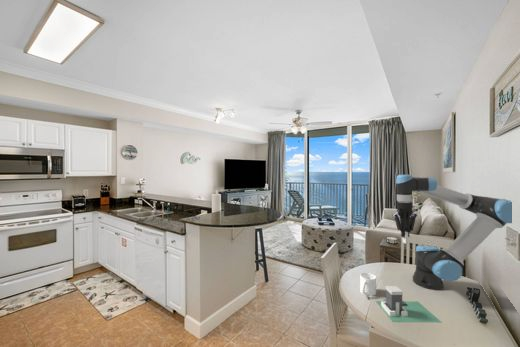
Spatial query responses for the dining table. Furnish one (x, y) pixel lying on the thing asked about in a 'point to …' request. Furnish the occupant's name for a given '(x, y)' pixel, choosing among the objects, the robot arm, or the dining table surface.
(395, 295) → the plug
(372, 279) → the mug
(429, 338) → the dining table surface
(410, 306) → the board
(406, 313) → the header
